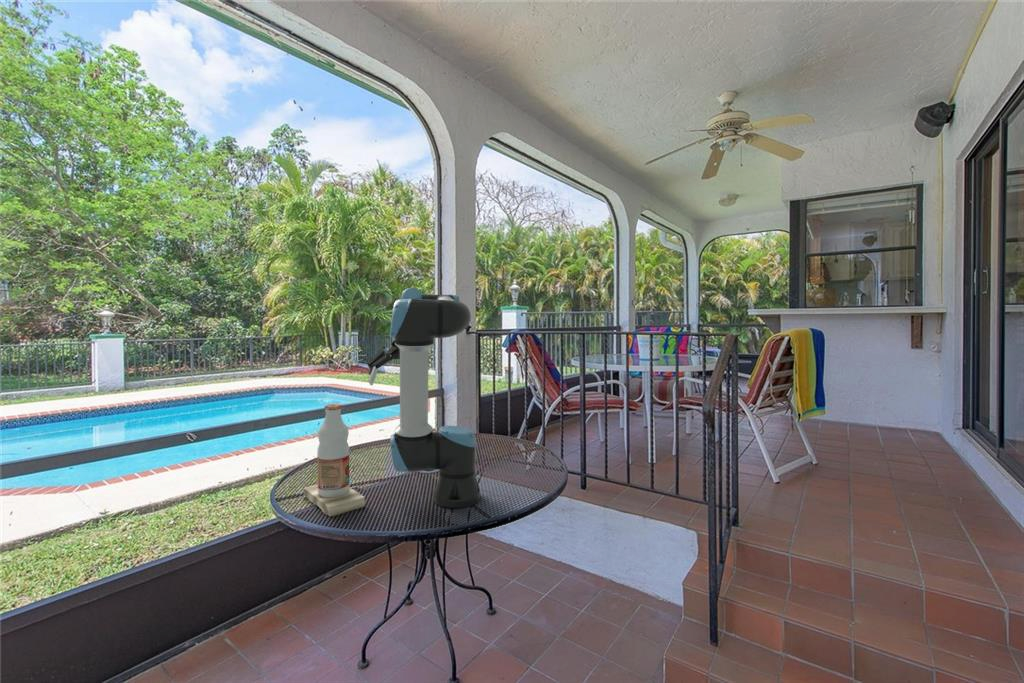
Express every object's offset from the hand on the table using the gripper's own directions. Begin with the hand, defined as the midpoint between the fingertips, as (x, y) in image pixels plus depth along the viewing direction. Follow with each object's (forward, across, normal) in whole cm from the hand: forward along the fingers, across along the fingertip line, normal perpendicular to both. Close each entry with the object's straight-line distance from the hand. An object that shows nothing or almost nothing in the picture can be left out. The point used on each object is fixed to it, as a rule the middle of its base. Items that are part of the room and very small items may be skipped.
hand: (388, 383), depth 159 cm
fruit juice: (+37, +10, -8) cm, 39 cm away
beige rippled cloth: (+39, +10, -10) cm, 42 cm away
